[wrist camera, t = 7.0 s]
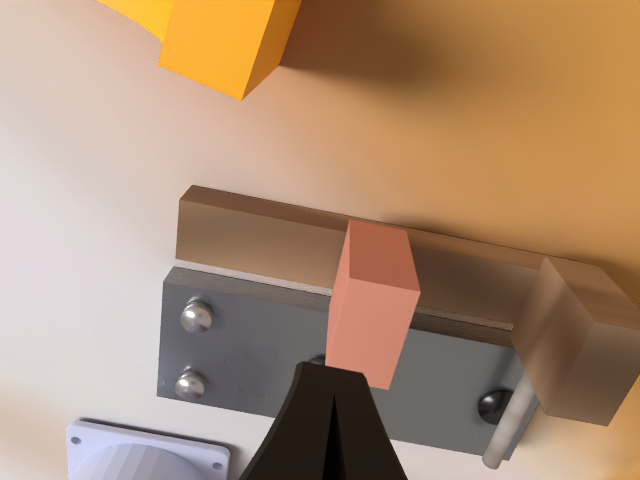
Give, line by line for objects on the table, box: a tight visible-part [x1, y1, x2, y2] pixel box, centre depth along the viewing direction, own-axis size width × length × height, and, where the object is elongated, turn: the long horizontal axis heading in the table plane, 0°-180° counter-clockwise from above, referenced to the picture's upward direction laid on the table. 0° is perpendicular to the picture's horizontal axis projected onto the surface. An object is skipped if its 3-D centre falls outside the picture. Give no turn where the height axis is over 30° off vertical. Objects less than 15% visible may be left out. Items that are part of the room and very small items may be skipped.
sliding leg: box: [325, 220, 421, 390], centre depth 17 cm, size 9×2×4 cm, turn 169°
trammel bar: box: [176, 185, 640, 469], centre depth 18 cm, size 9×15×6 cm, turn 79°
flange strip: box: [157, 267, 539, 461], centre depth 21 cm, size 6×16×2 cm, turn 79°
